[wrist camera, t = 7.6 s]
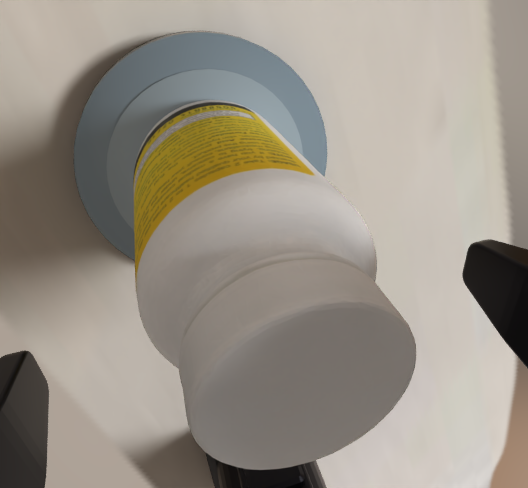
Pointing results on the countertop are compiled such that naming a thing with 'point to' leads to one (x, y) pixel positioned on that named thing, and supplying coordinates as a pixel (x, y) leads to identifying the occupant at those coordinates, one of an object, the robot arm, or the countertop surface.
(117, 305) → the countertop surface
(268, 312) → the supplement bottle
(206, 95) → the dish
